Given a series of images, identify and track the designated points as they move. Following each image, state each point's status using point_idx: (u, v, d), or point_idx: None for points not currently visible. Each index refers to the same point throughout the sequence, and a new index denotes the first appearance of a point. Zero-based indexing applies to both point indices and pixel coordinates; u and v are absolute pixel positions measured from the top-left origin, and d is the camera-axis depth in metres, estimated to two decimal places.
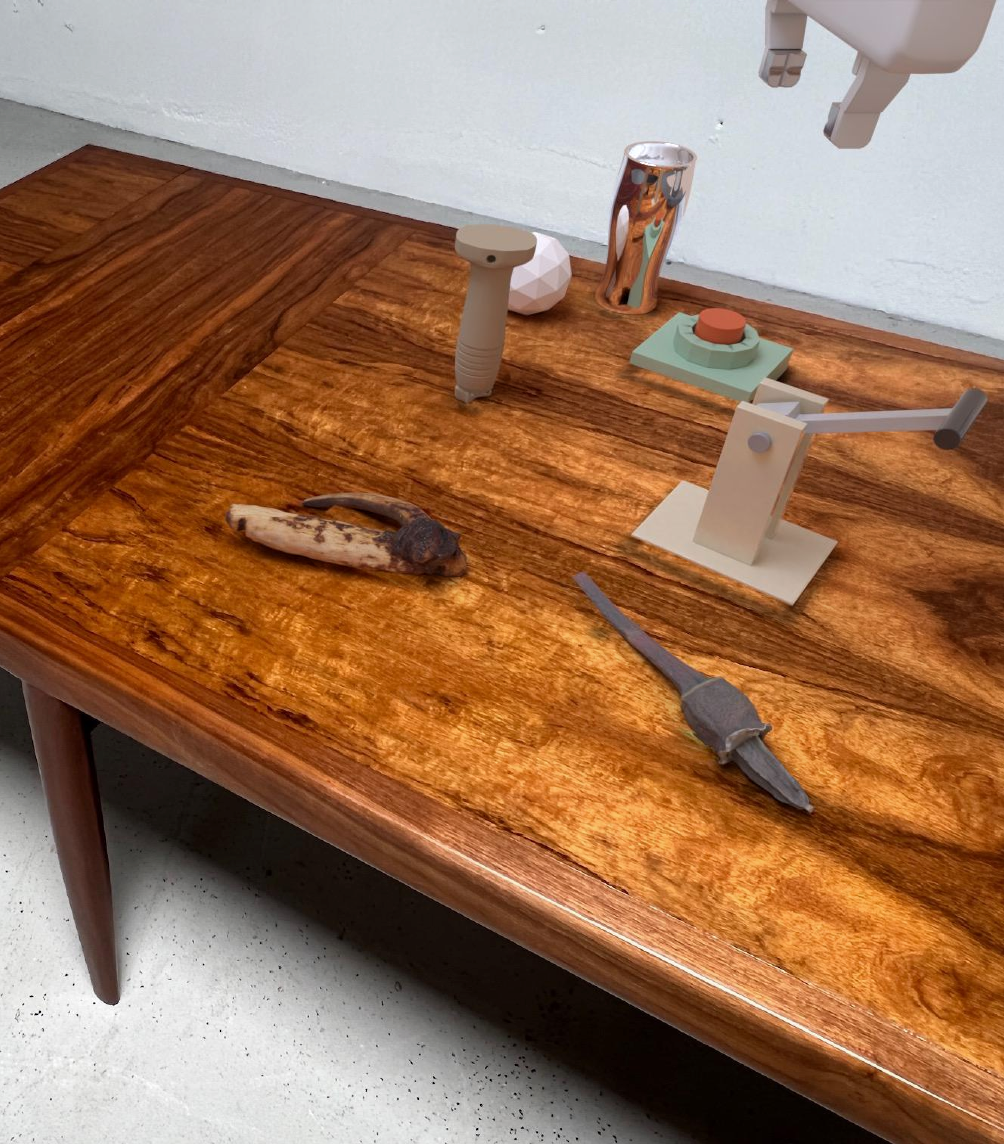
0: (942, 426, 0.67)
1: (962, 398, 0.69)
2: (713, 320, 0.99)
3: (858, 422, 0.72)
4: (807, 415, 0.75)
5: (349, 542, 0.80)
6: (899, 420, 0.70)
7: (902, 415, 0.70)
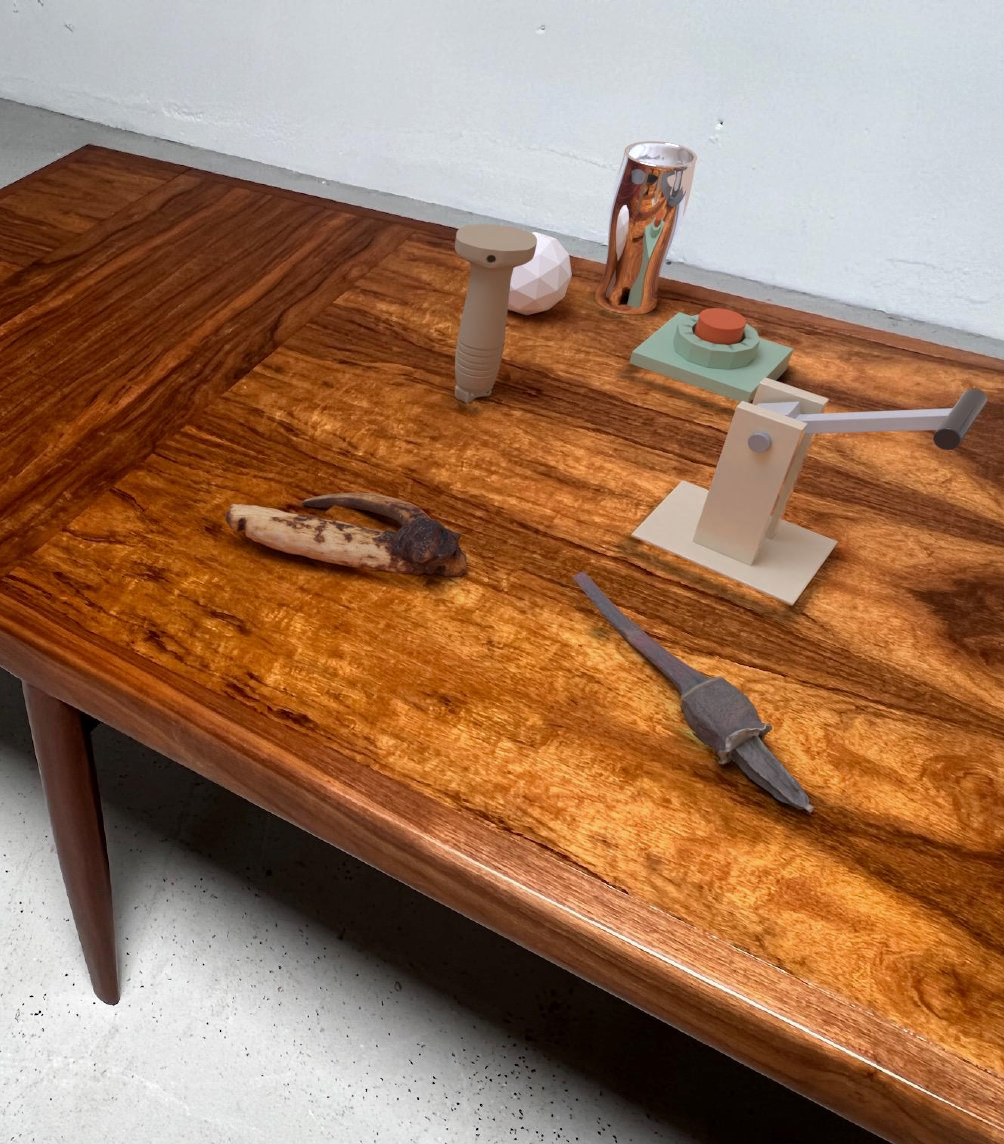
0: (942, 426, 0.67)
1: (962, 398, 0.69)
2: (713, 320, 0.99)
3: (858, 422, 0.72)
4: (807, 415, 0.75)
5: (349, 542, 0.80)
6: (899, 420, 0.70)
7: (902, 415, 0.70)
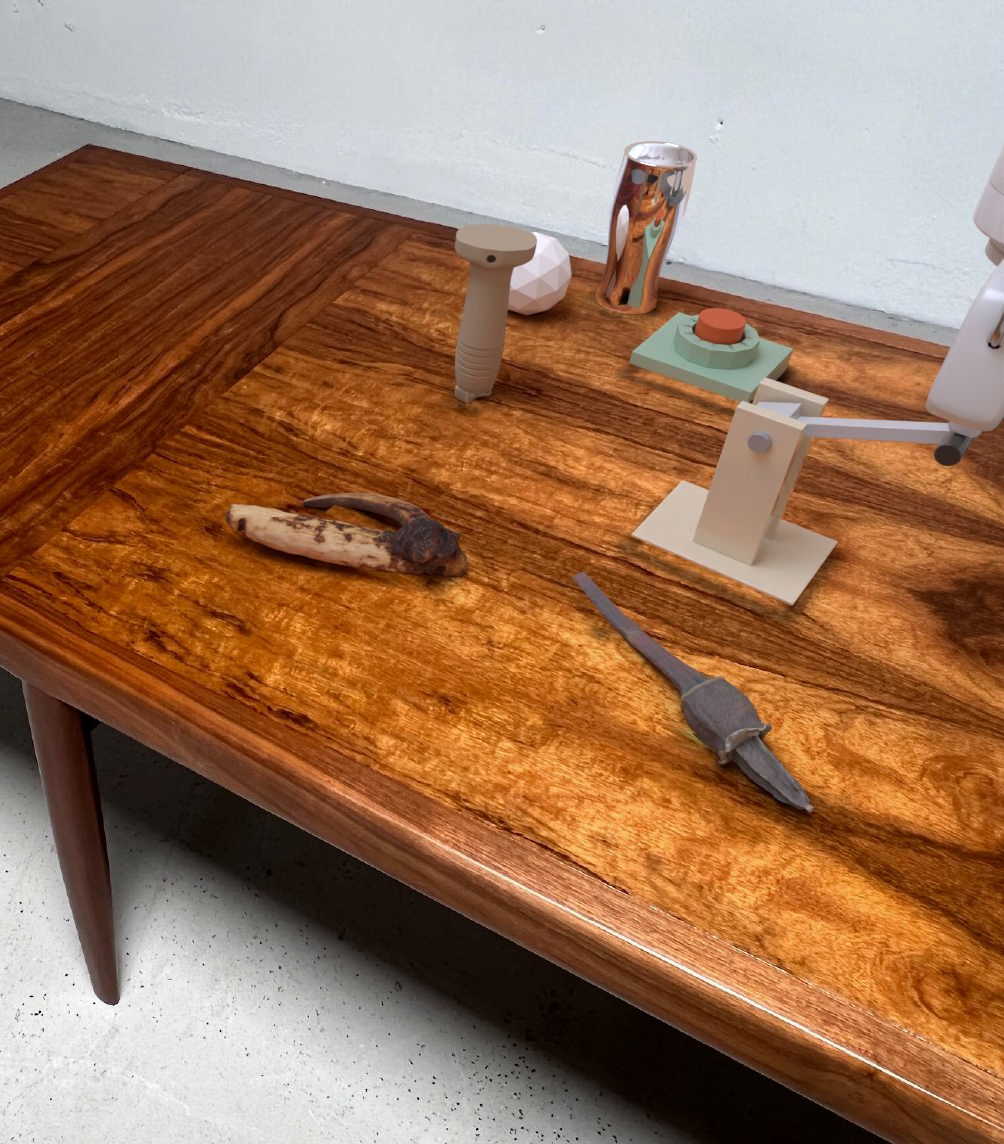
0: (944, 442, 0.67)
1: None
2: (713, 320, 0.99)
3: (859, 429, 0.72)
4: (808, 418, 0.75)
5: (349, 542, 0.80)
6: (900, 431, 0.71)
7: (903, 426, 0.70)
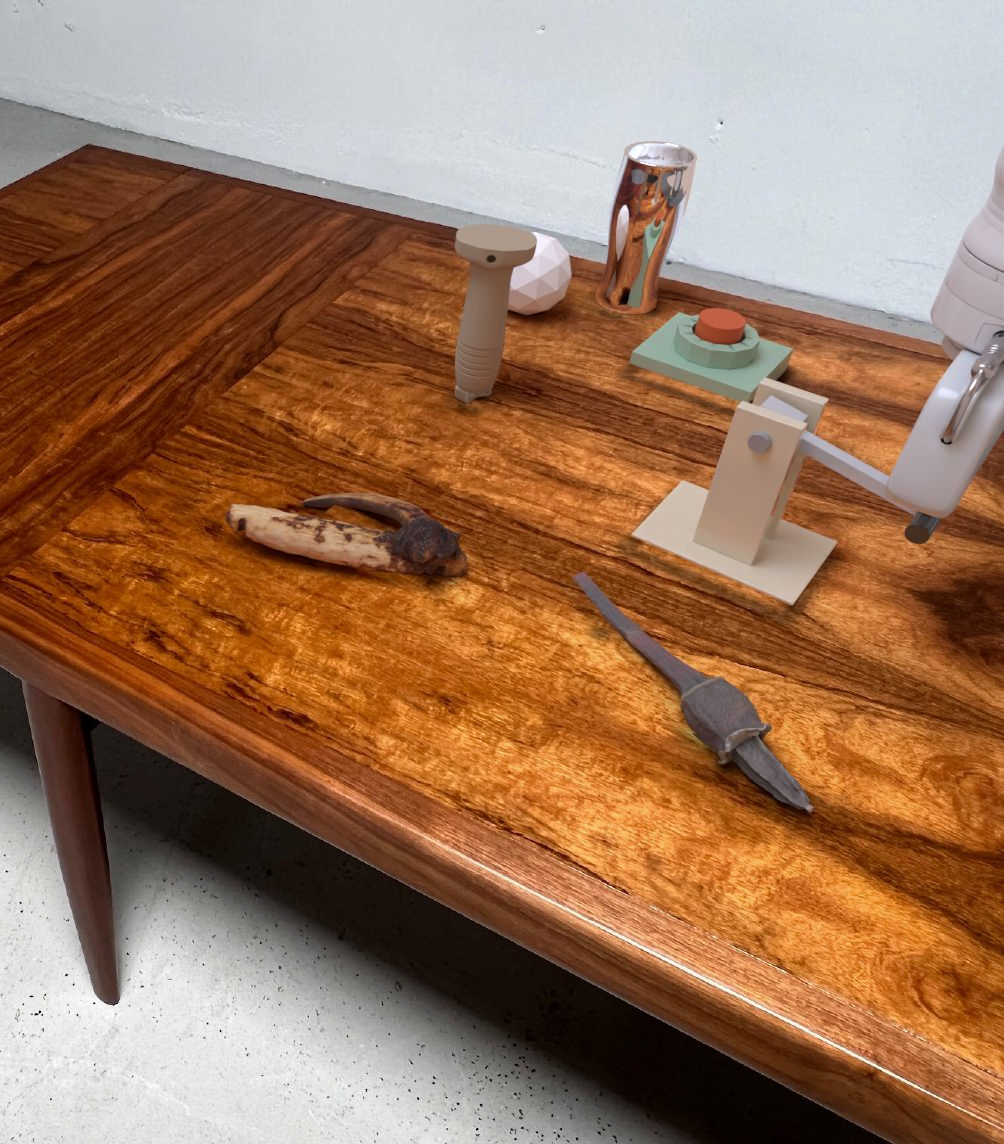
0: (920, 521, 0.71)
1: None
2: (713, 320, 0.99)
3: (848, 468, 0.74)
4: (808, 433, 0.75)
5: (349, 542, 0.80)
6: (883, 487, 0.73)
7: None
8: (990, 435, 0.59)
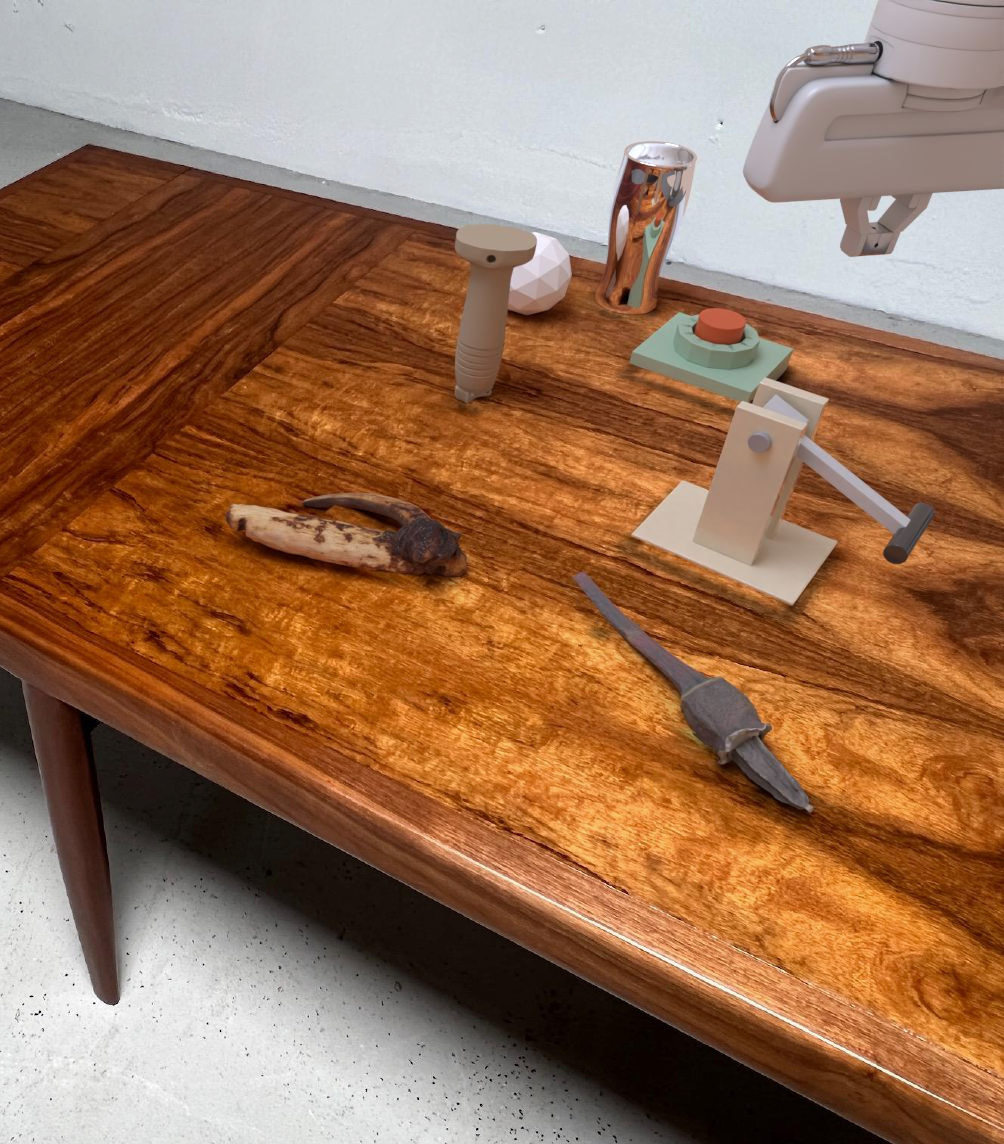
0: (901, 542, 0.72)
1: (921, 513, 0.74)
2: (713, 320, 0.99)
3: (839, 479, 0.75)
4: (806, 438, 0.76)
5: (349, 542, 0.80)
6: (869, 502, 0.74)
7: (874, 499, 0.74)
8: (802, 114, 0.69)
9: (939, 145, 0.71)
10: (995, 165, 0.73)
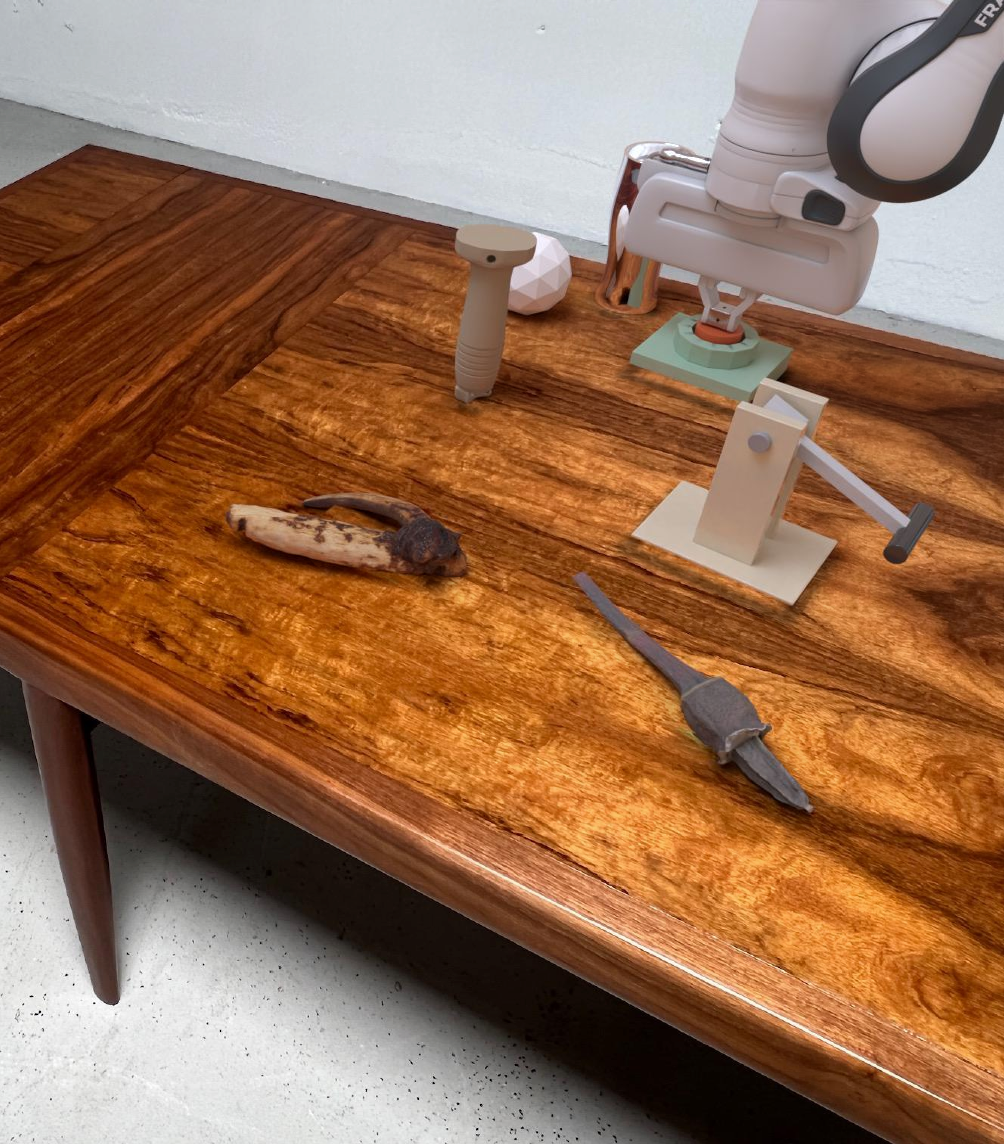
0: (901, 542, 0.72)
1: (921, 513, 0.74)
2: (711, 328, 1.00)
3: (839, 479, 0.75)
4: (806, 438, 0.76)
5: (349, 542, 0.80)
6: (869, 502, 0.74)
7: (874, 499, 0.74)
8: (641, 192, 0.97)
9: (748, 251, 0.94)
10: (797, 284, 0.92)
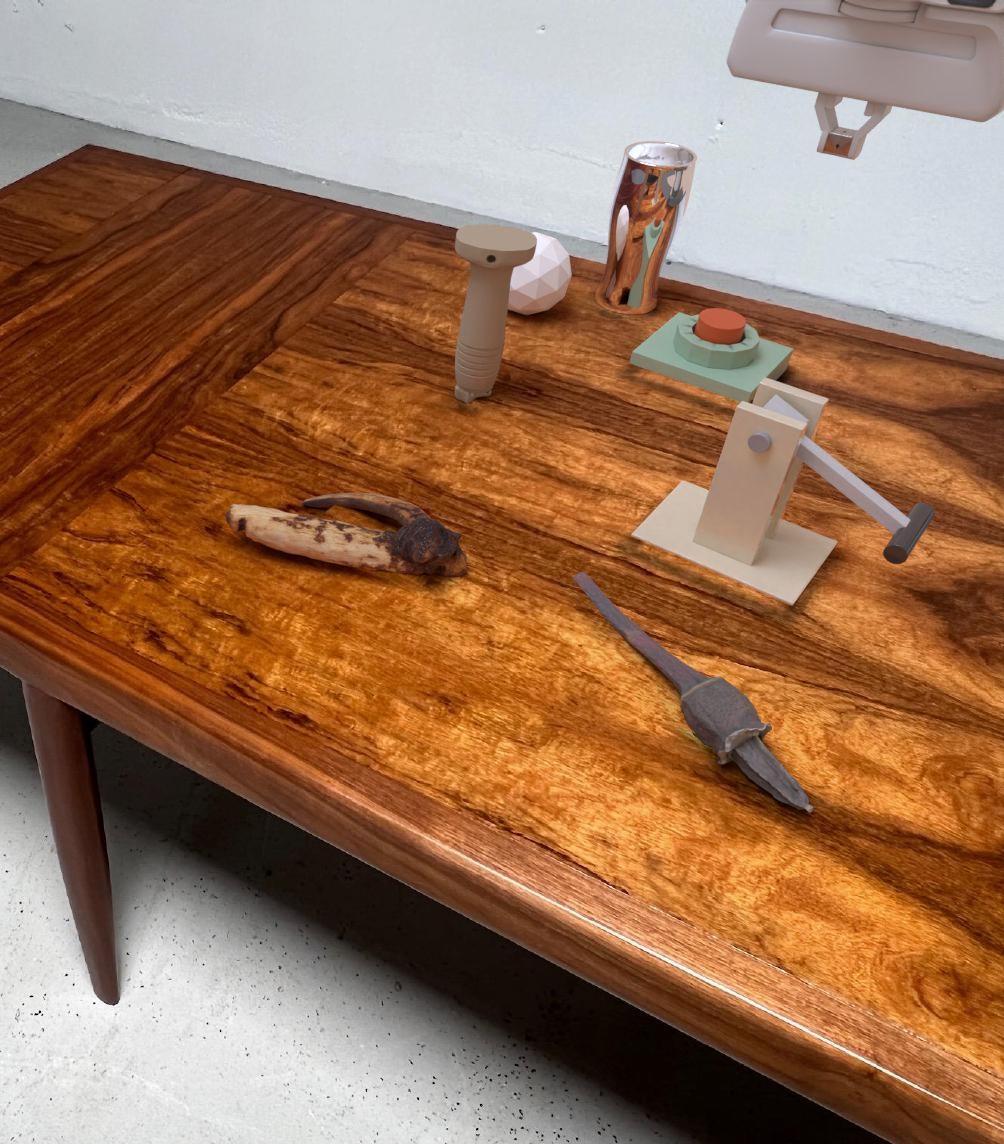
0: (901, 542, 0.72)
1: (921, 513, 0.74)
2: (713, 320, 0.99)
3: (839, 479, 0.75)
4: (806, 438, 0.76)
5: (349, 542, 0.80)
6: (869, 502, 0.74)
7: (874, 499, 0.74)
8: (751, 0, 0.87)
9: (877, 55, 0.83)
10: (936, 89, 0.82)
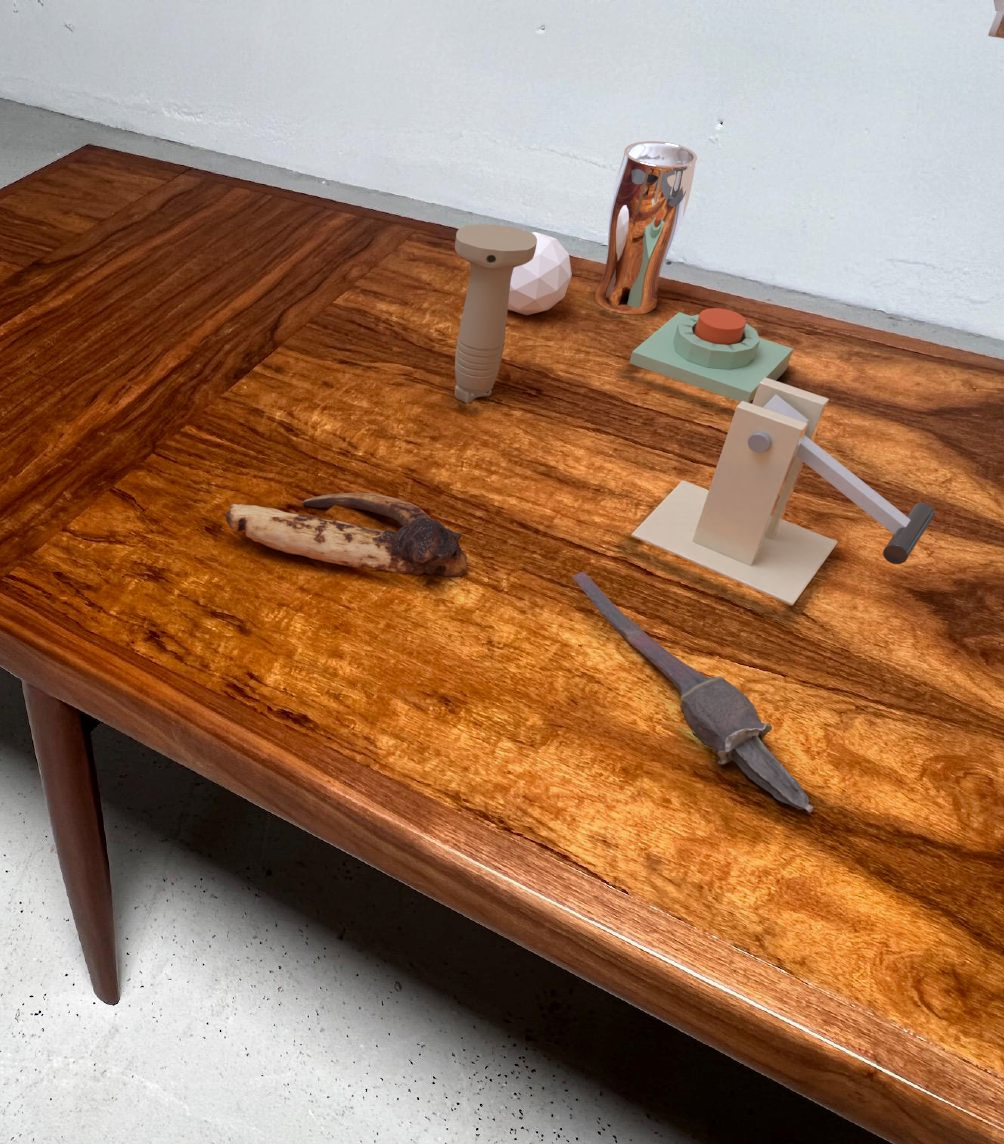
0: (901, 542, 0.72)
1: (921, 513, 0.74)
2: (713, 320, 0.99)
3: (839, 479, 0.75)
4: (806, 438, 0.76)
5: (349, 542, 0.80)
6: (869, 502, 0.74)
7: (874, 499, 0.74)
8: None
9: None
10: None
